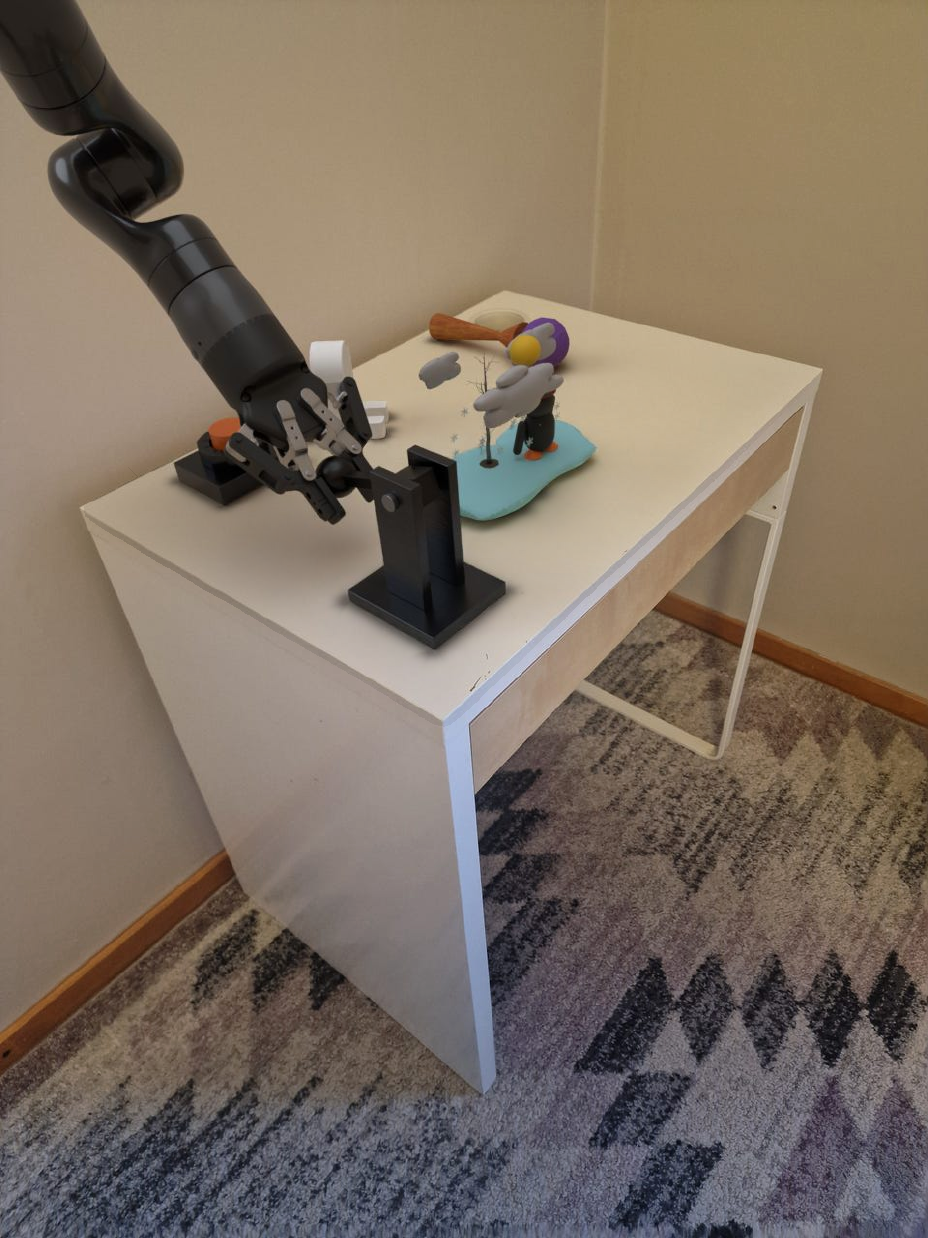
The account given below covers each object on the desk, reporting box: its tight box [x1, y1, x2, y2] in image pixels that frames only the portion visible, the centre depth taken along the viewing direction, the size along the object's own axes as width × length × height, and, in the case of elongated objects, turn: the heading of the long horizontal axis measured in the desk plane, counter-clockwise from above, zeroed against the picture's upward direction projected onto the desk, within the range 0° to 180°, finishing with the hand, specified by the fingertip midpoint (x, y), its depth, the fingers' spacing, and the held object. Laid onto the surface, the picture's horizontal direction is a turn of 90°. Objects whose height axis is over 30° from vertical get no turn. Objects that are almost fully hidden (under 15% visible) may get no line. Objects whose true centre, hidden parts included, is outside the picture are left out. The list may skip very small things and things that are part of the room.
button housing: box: [172, 431, 280, 507], centre depth 89 cm, size 10×8×4 cm
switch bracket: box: [347, 444, 507, 650], centre depth 69 cm, size 10×9×13 cm
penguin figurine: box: [418, 323, 597, 521], centre depth 81 cm, size 20×11×15 cm, turn 135°
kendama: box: [428, 312, 570, 368], centre depth 107 cm, size 6×6×20 cm
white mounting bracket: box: [309, 339, 390, 440], centre depth 93 cm, size 5×10×10 cm, turn 88°
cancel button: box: [208, 417, 241, 450], centre depth 87 cm, size 4×4×2 cm
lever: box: [315, 455, 441, 508], centre depth 69 cm, size 13×4×4 cm, turn 49°
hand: (357, 507), depth 73 cm, fingers closed on lever, 3 cm apart
